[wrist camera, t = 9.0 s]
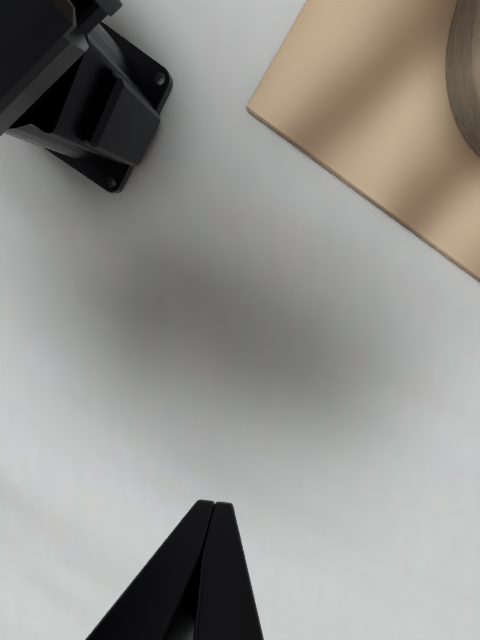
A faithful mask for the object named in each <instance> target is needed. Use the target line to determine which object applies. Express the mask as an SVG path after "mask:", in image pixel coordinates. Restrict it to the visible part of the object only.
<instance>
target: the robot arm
mask: <svg viewBox="0 0 480 640" xmlns="http://www.w3.org/2000/svg"><path fill="white" fill-rule="evenodd" d="M122 5H123V4H122V3H121V1H120V0H0V136H1V135H2V134H3V133H5V134H8V135H11V136H14V137H16V138H19V139H22V140H25V141H28V142H30V143H33V144H36V145H39V146H41V147H44V148H45V149H47V150H48V151H50V152H51V153H53V154H54V155H55V156H57V157H58V158H60V159H61V160H63V161H64V162H66V163H67V164H69V165H70V166H72V167H73V168H74V169H76V170H77V171H79V172H80V173H82V174H83V175H85V176H86V177H88V178H89V179H91V180H92V181H93V182H95V183H96V184H98V185H99V186H101V187H102V188H104V189H105V190H107V191H109V192H112V193H118V192H120V191H121V190H122V188H123V186H124V184H125V182H126V180H127V178H128V176H129V174H130V172H131V170H132V168H133V166H136V165H138V164H139V162H140V160H141V158H142V156H143V154H144V152H145V150H146V148H147V146H148V144H149V142H150V140H151V138H152V136H153V134H154V132H155V130H156V128H157V126H158V124H159V121H160V120H159V115H158V114H159V112H160V110H161V108H162V106H163V104H164V102H165V100H166V98H167V96H168V94H169V92H170V90H171V87H172V78H171V75H170V74H169V72H168V71H167V70H166V69H165V68H164V67H163V66H161V65H160V64H159V63H157V62H156V61H155V60H153V59H152V58H150V57H149V56H148V55H146V54H145V53H144V52H142V51H141V50H139V49H138V48H137V47H135V46H134V45H133V44H131V43H130V42H129V41H127V40H126V39H124V38H123V37H122V36H120V35H119V34H118V33H116V32H115V31H113V30H112V29H111V28H109V27H108V26H107V25H105V24H104V23H102V22H101V21H102V20H103V19H104V18H105V17H106V16H107V15H109V16H110V17H111V16H112V15H113V14H114V13H115V12H116V11H117V10H118V9H119V8H120V7H121V6H122ZM161 76H164V77H165V81H164V83H163V84H161V85H159V84H158V79H159V78H160V77H161ZM113 178H114V180H115V182H116V183H115V186H114V187H111V185H110V181H111V179H113ZM86 640H264V638H263V634H262V629H261V625H260V621H259V616H258V612H257V608H256V603H255V599H254V594H253V590H252V586H251V581H250V577H249V573H248V568H247V564H246V560H245V555H244V551H243V546H242V542H241V538H240V533H239V529H238V525H237V520H236V516H235V512H234V507H233V505H232V504H231V503H227V502H216V504H215V502H214V501H209V500H198V501H197V502H196V503H195V504H194V505H193V506H192V508H191V509H190V510H189V511H188V513H187V514H186V515H185V516H184V518H183V519H182V520H181V521H180V523H179V524H178V525H177V526H176V528H175V529H174V530H173V531H172V533H171V534H170V535H169V536H168V537H167V539H166V540H165V541H164V542H163V544H162V545H161V546H160V547H159V549H158V550H157V551H156V552H155V554H154V555H153V556H152V557H151V559H150V560H149V561H148V562H147V564H146V565H145V566H144V567H143V569H142V570H141V571H140V572H139V574H138V575H137V576H136V577H135V579H134V580H133V581H132V582H131V584H130V585H129V586H128V587H127V589H126V590H125V591H124V592H123V593H122V595H121V596H120V597H119V598H118V600H117V601H116V602H115V603H114V605H113V606H112V607H111V608H110V610H109V611H108V612H107V613H106V615H105V616H104V617H103V618H102V620H101V621H100V622H99V623H98V625H97V626H96V627H95V628H94V630H93V631H92V632H91V633H90V635H89V636H88V637H87V638H86Z"/></svg>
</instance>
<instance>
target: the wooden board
mask: <svg viewBox="0 0 480 640" xmlns="http://www.w3.org/2000/svg"><path fill="white" fill-rule="evenodd" d="M456 3H457V0H307V1H306V3H305V5H304V7H303V8H302V10H301V12H300V14H299V15H298V17H297V19H296V21H295V22H294V24H293V26H292V28H291V29H290V31H289V33H288V35H287V37H286V38H285V40H284V42H283V44H282V45H281V47H280V49H279V51H278V52H277V54H276V56H275V58H274V59H273V61H272V63H271V65H270V66H269V68H268V70H267V72H266V74H265V75H264V77H263V79H262V81H261V82H260V84H259V86H258V88H257V89H256V91H255V93H254V95H253V96H252V98H251V100H250V102H249V103H248V105H247V110H248V112H250V113H251V114H252V115H254V116H255V117H256V118H258V119H259V120H261V121H262V122H263V123H265V124H266V125H267V126H269V127H270V128H271V129H273V130H274V131H276V132H277V133H278V134H280V135H281V136H282V137H284V138H285V139H286V140H288V141H289V142H290V143H292V144H293V145H295V146H296V147H297V148H299V149H300V150H301V151H303V152H304V153H305V154H307V155H308V156H310V157H311V158H312V159H314V160H315V161H316V162H318V163H319V164H320V165H322V166H323V167H325V168H326V169H327V170H329V171H330V172H331V173H333V174H334V175H335V176H337V177H338V178H339V179H341V180H342V181H344V182H345V183H346V184H348V185H349V186H350V187H352V188H353V189H354V190H356V191H357V192H359V193H360V194H361V195H363V196H364V197H365V198H367V199H368V200H369V201H371V202H372V203H373V204H375V205H376V206H378V207H379V208H380V209H382V210H383V211H384V212H386V213H387V214H388V215H390V216H391V217H393V218H394V219H395V220H397V221H398V222H399V223H401V224H402V225H403V226H405V227H406V228H407V229H409V230H410V231H412V232H413V233H414V234H416V235H417V236H418V237H420V238H421V239H422V240H424V241H425V242H427V243H428V244H429V245H431V246H432V247H433V248H435V249H436V250H437V251H439V252H440V253H442V254H443V255H444V256H446V257H447V258H448V259H450V260H451V261H452V262H454V263H455V264H456V265H458V266H459V267H461V268H462V269H463V270H465V271H466V272H467V273H469V274H470V275H471V276H473V277H474V278H476V279H477V280H478V281H480V158H479V157H478V156H477V155H476V154H475V153H474V151H473V150H472V149H471V148H470V146H469V145H468V144H467V143H466V141H465V140H464V138H463V136H462V134H461V132H460V131H459V129H458V127H457V125H456V122H455V119H454V117H453V114H452V111H451V108H450V103H449V99H448V94H447V87H446V75H445V64H446V47H447V41H448V35H449V28H450V24H451V21H452V17H453V13H454V10H455V6H456Z"/></svg>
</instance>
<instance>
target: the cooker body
mask: <svg viewBox="0 0 480 640" xmlns="http://www.w3.org/2000/svg"><path fill="white" fill-rule="evenodd" d="M445 75H446V87H447V94H448V99H449V103H450V108H451V111H452V114H453V117H454V119H455V122H456V125H457V127H458V129H459V131H460V132H461V134H462V136H463V138H464V140H465V141H466V143H467V144H468V145H469V146H470V148H471V149H472V150H473V151H474V153H475V154H476V155H477V156H478V157H479V158H480V0H457V3H456V6H455V10H454V13H453V17H452V21H451V24H450V28H449V35H448V41H447V47H446V64H445Z"/></svg>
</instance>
